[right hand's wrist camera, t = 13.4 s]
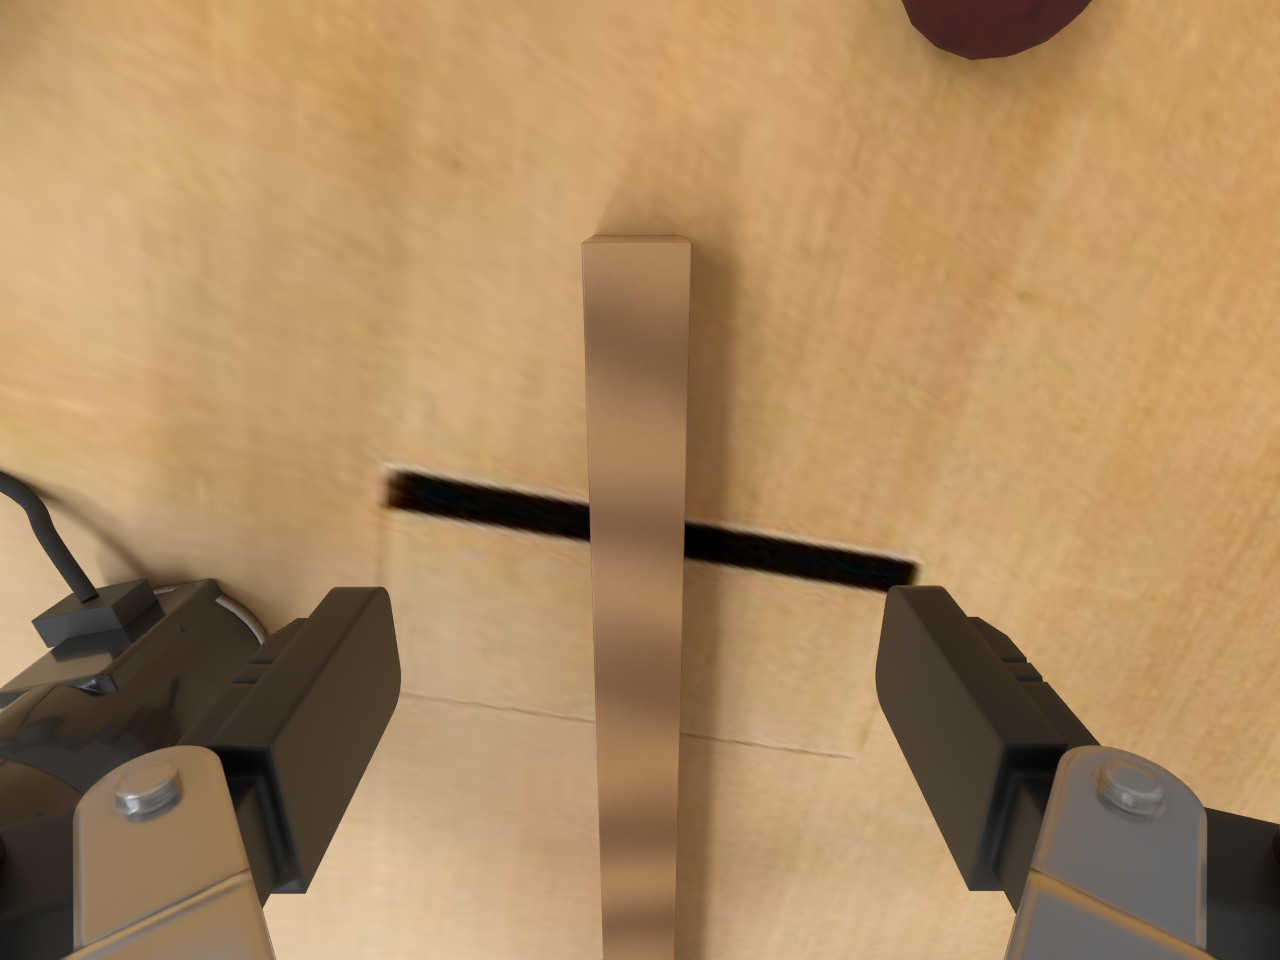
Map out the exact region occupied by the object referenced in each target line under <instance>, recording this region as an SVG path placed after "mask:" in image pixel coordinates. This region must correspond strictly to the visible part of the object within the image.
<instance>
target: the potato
mask: <svg viewBox="0 0 1280 960" xmlns="http://www.w3.org/2000/svg"><path fill="white" fill-rule="evenodd" d="M902 2H903V4H904V7H905V9H906V11H907V14H908V16H909V19H910V21H911V23H912V25H913V26H914V27H915V28H916V29H917V30H918V31H919V32H921V33H922V34H923V35H924V36H925V37H926V38H927V39H928V40H929V41H930V42H931V43H933V44H934V45H935V46H936V47H938V48H940V49H943V50H946V51H948V52H951V53H954V54H956V55H959V56H962V57H965V58H967V59H970V60H975V59H987V58H997V57H1006V56H1010V55H1014V54H1017V53H1020V52H1022V51H1024V50H1027V49H1029V48H1031V47H1034V46H1036V45H1038V44H1041V43H1043V42H1046V41H1047V40H1049V39H1050V38H1051V37H1052V36H1054V35H1055V34H1056V33H1058V32H1059V31H1060V30H1061V29H1063V28H1064V27H1065V26H1067V25H1068V24H1069V23H1070V22H1071V21H1072V20H1073V19H1075V18H1076V17H1077V16H1078V15H1079V14H1080V13H1081V12H1082V11H1083V10H1084V9H1085V8H1086V7H1087V5H1088V4H1089V3H1090V2H1091V0H902Z"/></svg>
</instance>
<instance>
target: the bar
mask: <svg viewBox="0 0 1280 960" xmlns="http://www.w3.org/2000/svg"><path fill="white" fill-rule="evenodd" d="M582 272H583V305H584V338H585V371H586V404H587V437H588V470H589V503H590V536H591V569H592V603H593V636H594V669H595V702H596V735H597V768H598V801H599V834H600V867H601V900H602V933H603V960H674V945H675V903H676V862H677V820H678V778H679V737H680V695H681V653H682V612H683V570H684V529H685V487H686V445H687V404H688V362H689V320H690V279H691V242H690V241H688V240H687V239H685V238H684V237H683V236H592V237H590V238H589V239H587V240H586V241H584V242H582Z"/></svg>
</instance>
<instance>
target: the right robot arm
mask: <svg viewBox="0 0 1280 960" xmlns="http://www.w3.org/2000/svg"><path fill="white" fill-rule="evenodd" d="M0 492H2V493H3V494H5V495H7V496H9V497H10V498H11V499H13V500H14V501H15V502H17V503H18V504H19V505H21V506H22V507H23V508H24V510H25V511H26V513H27V515H28V518H29V520H30V523H31V526H32V529H33V531H34V533H35V535H36V537H37V539H38V540H39V542H40V544H41V545H42V547H43V548H44V550H45V551H46V553H47V554H48V556H49V557H50V559H51V560H52V562H53V563H54V565H55V566H56V568H57V569H58V571H59V572H60V573H61V575H62V576H63V578H64V579H65V581H66V582H67V583H68V585H69V586H70V588H71V589H72V591H73V592H74V593H72V594H70V595H69V596H67V597H66V598H64V599H63V600H61V601H60V602H58V603H57V604H56V605H54V606H53V607H51V608H50V609H48V610H47V611H45V612H44V613H42V614H41V615H39V616H38V617H36V618H35V619H34V620H32V623H33V625H34V627H35V628H36V630H37V631H38V633H39V635H40V636H41V638H42V639H43V641H44V643H45V644H46V646H47V647H48V648H50V647H54V648H53V649H52V650H50V651H49V652H48V653H46V654H45V655H44V656H43V657H41V658H40V659H39V660H37V661H36V662H35V663H33V664H32V665H31V666H29V667H28V668H27V669H25V670H24V671H23V672H21V673H20V674H19V675H17V676H16V677H15V678H13V679H12V680H11V681H9V682H8V683H7V684H5V685H4V686H3V687H1V688H0V960H276V957H275V953H274V950H273V946H272V943H271V939H270V935H269V932H268V928H267V924H266V921H265V917H264V914H263V910H262V909H263V907H264V905H265V903H266V901H267V899H268V897H269V896H270V894H305V893H306V891H307V889H308V887H309V885H310V883H311V881H312V879H313V877H314V875H315V873H316V871H317V869H318V867H319V865H320V862H321V860H322V858H323V856H324V854H325V852H326V850H327V848H328V846H329V844H330V842H331V840H332V838H333V836H334V834H335V832H336V830H337V827H338V825H339V823H340V821H341V819H342V817H343V815H344V813H345V811H346V809H347V807H348V805H349V803H350V801H351V799H352V797H353V795H354V793H355V790H356V788H357V786H358V784H359V782H360V780H361V778H362V776H363V774H364V772H365V770H366V768H367V766H368V764H369V762H370V760H371V758H372V755H373V753H374V751H375V749H376V747H377V745H378V743H379V741H380V739H381V737H382V735H383V733H384V731H385V729H386V727H387V725H388V723H389V721H390V718H391V716H392V714H393V712H394V710H395V708H396V705H397V702H398V698H399V693H400V685H401V669H400V661H399V655H398V648H397V642H396V635H395V628H394V622H393V615H392V608H391V602H390V597H389V594H388V592H387V590H386V589H385V588H384V587H334V588H333V589H331V590H330V592H329V593H328V594H327V595H326V597H325V598H324V599H323V600H322V601H321V603H320V604H319V605H318V606H317V608H316V609H315V610H314V611H313V613H312V614H311V615H310V616H309V618H297V619H296V620H294V621H293V622H291V623H289V624H288V625H286V626H285V627H283V628H282V629H280V630H279V631H277V632H275V633H274V634H272V635H271V636H269V637H267V635H266V633H265V631H264V629H263V628H262V626H261V625H260V624H259V623H258V621H257V620H256V619H255V618H254V617H253V616H252V615H251V614H250V613H249V612H248V611H247V610H246V609H245V608H243V607H242V606H241V605H239V604H238V603H236V602H235V601H233V600H232V599H230V598H228V597H226V596H224V595H223V594H222V593H221V592H220V590H219V589H218V587H217V585H216V583H215V581H214V580H212V579H206V580H201V581H196V582H191V583H186V584H181V585H171V586H165V587H161V588H157V589H154V590H152V588H151V586H150V584H149V582H148V581H147V579H142V580H137V581H132V582H127V583H122V584H117V585H112V586H106V587H101V588H96V589H95V588H94V586H93V585H92V583H91V582H90V580H89V579H88V578H87V576H86V575H85V573H84V572H83V570H82V569H81V568H80V566H79V565H78V563H77V562H76V560H75V559H74V557H73V556H72V555H71V553H70V552H69V550H68V549H67V547H66V546H65V544H64V542H63V541H62V539H61V538H60V536H59V535H58V533H57V531H56V530H55V528H54V525H53V523H52V520H51V517H50V515H49V512H48V510H47V508H46V506H45V505H44V503H43V502H42V501H41V500H40V499H39V497H38V496H37V495H35V494H34V493H33V492H32V491H30V490H29V489H28V488H26V487H25V486H24V485H22V484H21V483H19V482H17V481H16V480H14V479H12V478H11V477H9V476H7V475H4V474H2V473H0ZM55 646H56V647H55ZM1026 659H1027V658H1026V657H1025V656H1024V655H1023V653H1022V652H1021V651H1020V650H1019V649H1018V648H1017V646H1016V645H1015V644H1014V643H1013V642H1012V641H1011V639H1010V638H1009V637H1008V636H1007V635H1005V634H1004V633H1002V632H1001V631H999V630H998V629H996V628H994V627H993V626H991V625H990V624H988V623H987V622H985V621H984V620H982V619H980V618H979V617H967V616H966V614H965V613H964V612H963V611H962V609H961V608H960V607H959V606H958V604H957V603H956V602H955V601H954V599H953V598H952V597H951V596H950V594H949V593H948V592H947V591H946V589H945V588H943V587H942V586H892V587H891V588H890V589H889V591H888V593H887V597H886V602H885V609H884V616H883V622H882V629H881V636H880V643H879V649H878V656H877V663H876V689H877V695H878V699H879V702H880V706H881V708H882V710H883V712H884V714H885V716H886V719H887V721H888V723H889V725H890V727H891V729H892V731H893V733H894V735H895V737H896V739H897V741H898V744H899V746H900V748H901V750H902V752H903V754H904V756H905V758H906V760H907V762H908V764H909V766H910V769H911V771H912V773H913V775H914V777H915V779H916V781H917V783H918V785H919V787H920V789H921V791H922V793H923V796H924V798H925V800H926V802H927V804H928V806H929V808H930V810H931V812H932V814H933V816H934V818H935V821H936V823H937V825H938V827H939V829H940V831H941V833H942V835H943V837H944V839H945V841H946V843H947V846H948V848H949V850H950V852H951V854H952V856H953V858H954V860H955V862H956V864H957V866H958V868H959V871H960V873H961V875H962V877H963V879H964V881H965V883H966V885H967V887H968V889H969V891H1004V892H1005V894H1006V896H1007V898H1008V900H1009V902H1010V904H1011V906H1012V907H1013V909H1014V911H1015V913H1016V917H1015V921H1014V924H1013V928H1012V932H1011V935H1010V939H1009V943H1008V946H1007V950H1006V953H1005V957H1004V960H1280V824H1275V823H1271V822H1267V821H1262V820H1258V819H1254V818H1249V817H1245V816H1241V815H1236V814H1232V813H1227V812H1223V811H1219V810H1214V809H1210V808H1206V807H1203V805H1202V803H1201V802H1200V800H1199V799H1198V797H1197V796H1196V795H1195V794H1194V793H1193V791H1192V790H1191V789H1190V788H1189V787H1188V786H1187V785H1186V784H1184V783H1183V782H1182V781H1181V780H1180V779H1179V778H1177V777H1176V776H1175V775H1173V774H1172V773H1170V772H1169V771H1167V770H1166V769H1164V768H1162V767H1161V766H1159V765H1157V764H1155V763H1153V762H1151V761H1150V760H1148V759H1145V758H1143V757H1141V756H1138V755H1136V754H1133V753H1130V752H1127V751H1124V750H1120V749H1116V748H1112V747H1105V746H1101V745H1100V744H1099V743H1098V741H1097V740H1096V739H1095V738H1094V737H1093V736H1092V734H1091V733H1090V732H1089V731H1088V730H1087V728H1086V727H1085V726H1084V725H1083V724H1082V723H1081V721H1080V720H1079V719H1078V718H1077V717H1076V716H1075V714H1074V713H1073V712H1072V711H1071V710H1070V709H1069V707H1068V706H1067V705H1066V704H1065V703H1064V702H1063V700H1062V699H1061V698H1060V697H1059V696H1058V694H1057V693H1056V692H1055V691H1054V690H1053V689H1052V687H1051V686H1050V685H1049V684H1048V683H1047V682H1043V679H1042V676H1041V675H1040V673H1039V672H1038V671H1037V670H1036V669H1035V668H1034V666H1033V665H1032V664H1031V663H1027V660H1026Z"/></svg>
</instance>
